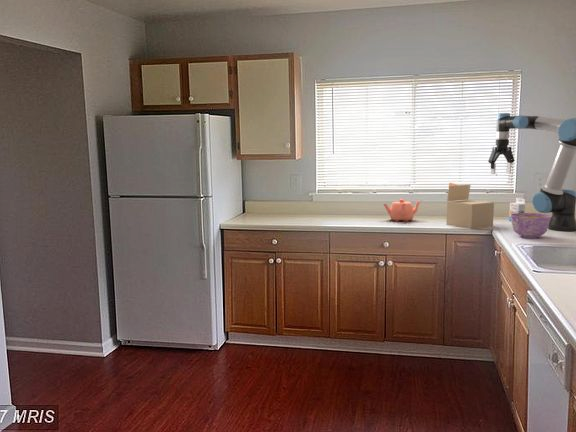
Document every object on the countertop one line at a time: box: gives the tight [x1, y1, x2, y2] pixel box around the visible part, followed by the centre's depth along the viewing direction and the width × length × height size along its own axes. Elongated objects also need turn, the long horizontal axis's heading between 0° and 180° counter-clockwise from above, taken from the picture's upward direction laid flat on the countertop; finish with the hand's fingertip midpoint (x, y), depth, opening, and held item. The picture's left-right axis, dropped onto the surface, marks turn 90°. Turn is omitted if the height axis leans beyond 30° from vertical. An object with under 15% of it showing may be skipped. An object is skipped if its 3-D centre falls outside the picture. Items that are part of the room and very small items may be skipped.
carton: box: [445, 199, 495, 230], centre depth 328 cm, size 20×18×14 cm
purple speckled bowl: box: [510, 212, 552, 239], centre depth 288 cm, size 20×20×12 cm
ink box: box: [508, 197, 526, 222], centre depth 342 cm, size 8×5×15 cm, turn 17°
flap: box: [446, 182, 471, 202], centre depth 338 cm, size 10×18×8 cm
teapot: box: [383, 198, 422, 223], centre depth 351 cm, size 18×18×14 cm
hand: (500, 173), depth 333 cm, fingers open, 13 cm apart
